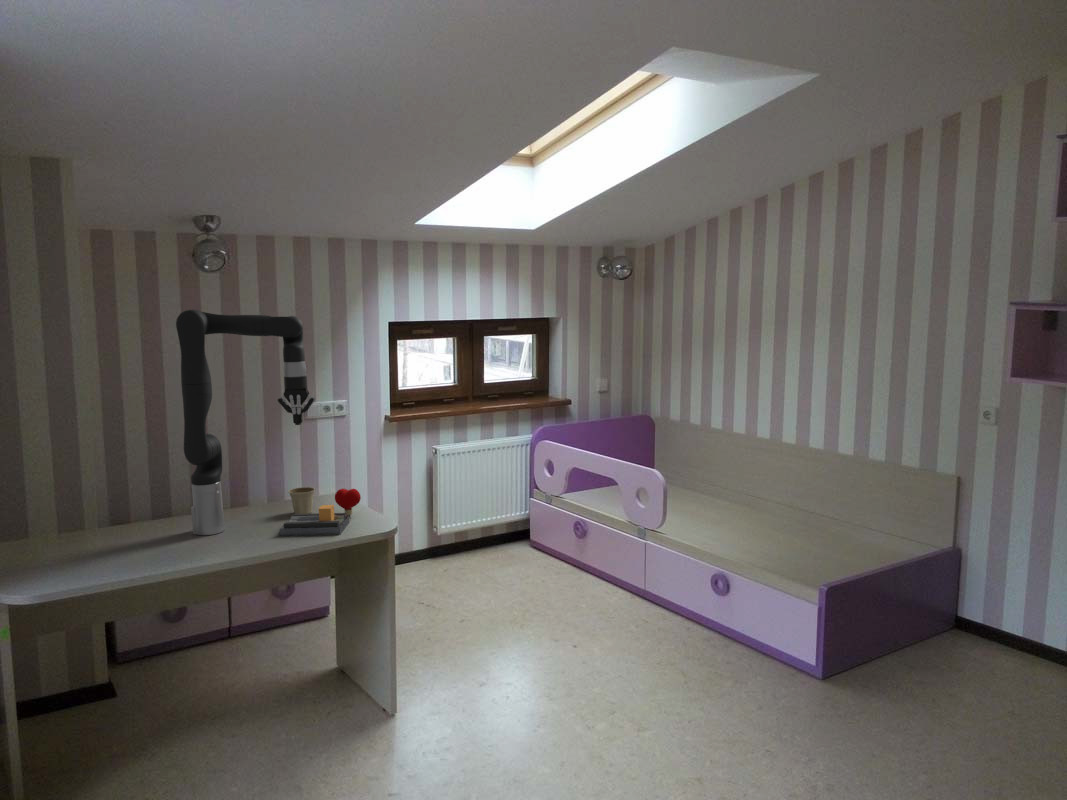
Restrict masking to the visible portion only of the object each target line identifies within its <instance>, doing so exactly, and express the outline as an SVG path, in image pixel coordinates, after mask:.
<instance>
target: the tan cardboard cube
mask: <svg viewBox="0 0 1067 800" xmlns="http://www.w3.org/2000/svg"><path fill="white" fill-rule="evenodd" d="M318 513H319V521H326V520H334V519H335V518H334V513H335V505H334V504H322V505H321V506H320V507H319V508H318Z"/></svg>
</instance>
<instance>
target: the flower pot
mask: <svg viewBox="0 0 1067 800" xmlns="http://www.w3.org/2000/svg"><path fill="white" fill-rule="evenodd" d="M315 490H316V488H315V487H310V486H303V487H295V488H292V489H290V490H287V492H288V494H289V496H290V498H291V503H292V507H293V514H312V512H313V500H314V494H315Z"/></svg>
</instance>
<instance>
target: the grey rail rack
mask: <svg viewBox="0 0 1067 800" xmlns="http://www.w3.org/2000/svg"><path fill="white" fill-rule="evenodd" d="M334 515H344V518H345V517H346V516H347V515H345V512H334ZM291 516H319V512H318V513H310V514H295V513H293V514H291ZM283 525H284V528H289V527H329V526H338V525H339V521H331V522H291V523H286V522H284V523H283Z"/></svg>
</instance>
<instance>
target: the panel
mask: <svg viewBox="0 0 1067 800" xmlns="http://www.w3.org/2000/svg"><path fill="white" fill-rule="evenodd" d="M334 518H335V519H334V520H326V521H319V516H292V515H291V517H290V518H289V519H288V520H287V521H285V523H291V522H331V521H339V525H338V526H329V527H289V528H284V524H283V525H282V526H281V527H280V528H279V535H280V536H281V537H287V536H288V537H291V536H292V537H295V536H297V537H298V535H299V536H326V535H327V536H332V535H333V536H334V535H335V536H336V535H338V536H339V535H342V533H343V532H344V530H346V528H347V527H348V526H349V524H350V516H349V515H348V516H347V515H346V517H345V518H344V515H334Z"/></svg>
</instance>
